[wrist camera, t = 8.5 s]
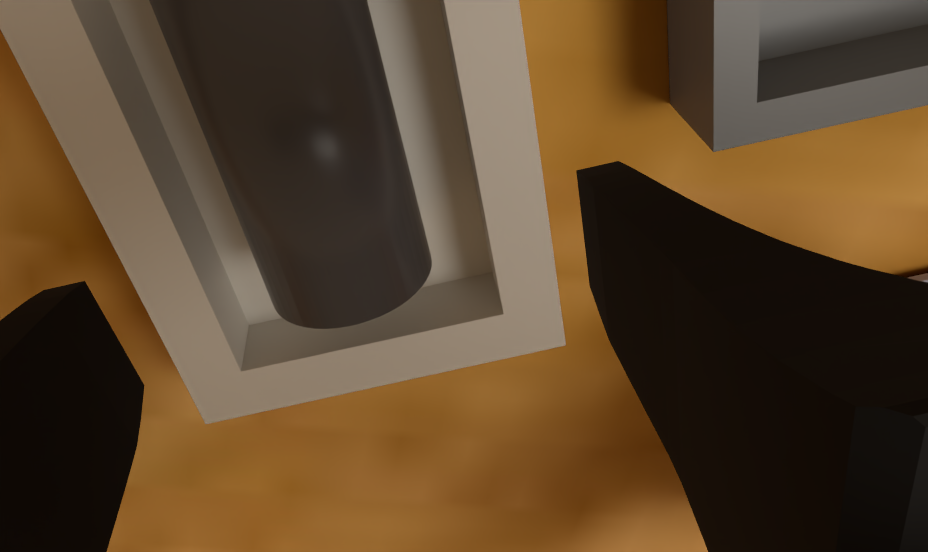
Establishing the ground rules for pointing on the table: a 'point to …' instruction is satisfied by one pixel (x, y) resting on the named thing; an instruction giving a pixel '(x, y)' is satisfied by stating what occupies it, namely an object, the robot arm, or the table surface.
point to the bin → (793, 64)
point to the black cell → (305, 150)
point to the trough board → (221, 236)
